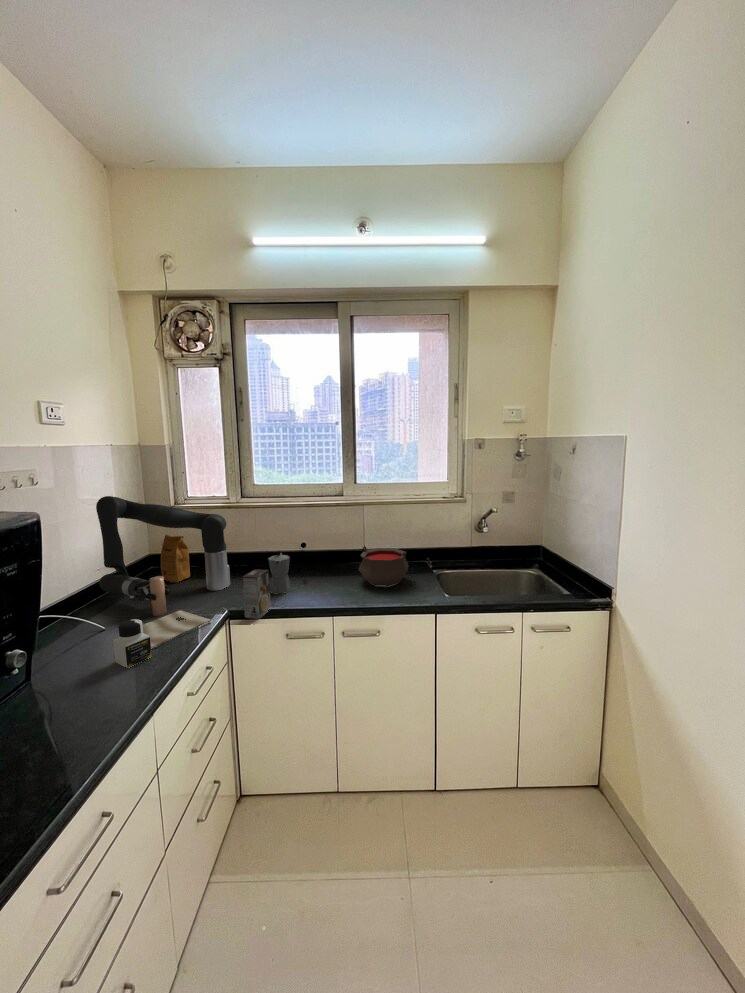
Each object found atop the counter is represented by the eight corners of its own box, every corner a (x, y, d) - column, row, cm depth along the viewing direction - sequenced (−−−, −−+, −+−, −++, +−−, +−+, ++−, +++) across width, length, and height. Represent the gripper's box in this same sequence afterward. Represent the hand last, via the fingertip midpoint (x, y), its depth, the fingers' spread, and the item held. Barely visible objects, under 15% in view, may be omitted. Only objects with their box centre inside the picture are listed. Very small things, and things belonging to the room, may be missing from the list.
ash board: (180, 613, 151) (180, 610, 151) (211, 622, 142) (211, 619, 142) (120, 637, 132) (120, 633, 132) (151, 650, 123) (151, 646, 123)
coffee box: (256, 608, 155) (254, 568, 153) (271, 609, 153) (269, 569, 151) (244, 618, 146) (241, 576, 144) (260, 619, 145) (257, 577, 143)
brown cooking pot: (418, 579, 186) (418, 545, 184) (393, 595, 166) (393, 557, 164) (375, 571, 199) (375, 539, 197) (347, 585, 179) (347, 550, 177)
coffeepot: (290, 595, 167) (288, 554, 165) (267, 597, 166) (265, 555, 164) (292, 583, 183) (291, 545, 180) (271, 584, 181) (270, 546, 179)
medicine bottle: (127, 669, 113) (123, 629, 111) (115, 662, 116) (111, 624, 115) (152, 657, 119) (148, 620, 117) (139, 651, 122) (136, 615, 121)
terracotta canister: (161, 609, 154) (159, 575, 153) (169, 612, 152) (166, 577, 150) (149, 614, 150) (146, 579, 149) (157, 616, 148) (154, 581, 146)
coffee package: (176, 574, 198) (172, 532, 195) (193, 577, 193) (190, 533, 190) (158, 580, 189) (154, 536, 187) (175, 584, 184) (172, 538, 181)
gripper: (117, 584, 151) (142, 591, 142) (153, 573, 163) (179, 580, 155) (118, 603, 152) (144, 611, 143) (155, 591, 164) (180, 598, 155)
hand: (162, 595), depth 149 cm, fingers closed on terracotta canister, 4 cm apart
